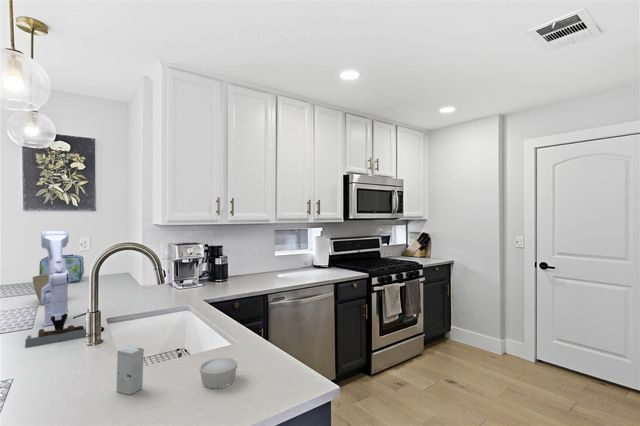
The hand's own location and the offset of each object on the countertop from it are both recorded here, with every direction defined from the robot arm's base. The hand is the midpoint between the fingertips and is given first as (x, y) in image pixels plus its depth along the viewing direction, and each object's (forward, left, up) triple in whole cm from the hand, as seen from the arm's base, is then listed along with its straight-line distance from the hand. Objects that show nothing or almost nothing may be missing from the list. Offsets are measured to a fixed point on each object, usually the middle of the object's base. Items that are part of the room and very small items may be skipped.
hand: (59, 332), depth 144 cm
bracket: (+5, 0, -1) cm, 5 cm away
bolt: (+4, +1, -2) cm, 4 cm away
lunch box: (-136, -5, -2) cm, 136 cm away
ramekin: (+77, +43, -2) cm, 89 cm away
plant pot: (-68, -8, -1) cm, 68 cm away
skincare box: (+67, +20, -1) cm, 70 cm away
